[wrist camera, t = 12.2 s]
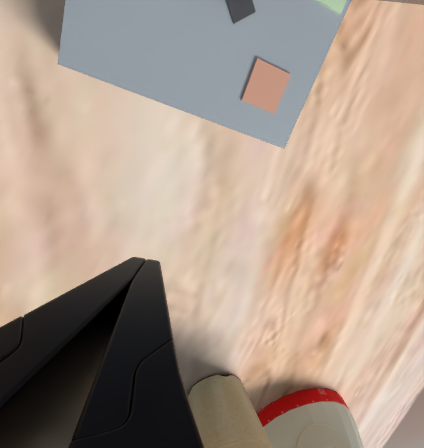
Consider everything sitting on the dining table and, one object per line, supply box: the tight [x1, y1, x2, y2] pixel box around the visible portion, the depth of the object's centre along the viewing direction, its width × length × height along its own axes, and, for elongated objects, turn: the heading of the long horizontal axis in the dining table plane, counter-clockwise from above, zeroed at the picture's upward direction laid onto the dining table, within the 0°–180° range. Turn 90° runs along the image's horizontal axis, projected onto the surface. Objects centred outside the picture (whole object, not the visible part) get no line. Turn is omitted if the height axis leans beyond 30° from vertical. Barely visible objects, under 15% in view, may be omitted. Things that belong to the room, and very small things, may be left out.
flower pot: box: [188, 375, 274, 448], centre depth 26 cm, size 9×9×9 cm
